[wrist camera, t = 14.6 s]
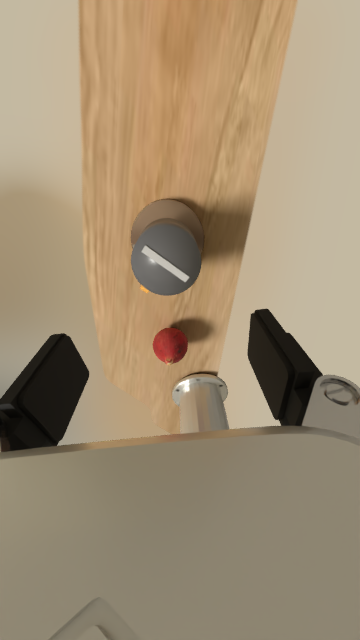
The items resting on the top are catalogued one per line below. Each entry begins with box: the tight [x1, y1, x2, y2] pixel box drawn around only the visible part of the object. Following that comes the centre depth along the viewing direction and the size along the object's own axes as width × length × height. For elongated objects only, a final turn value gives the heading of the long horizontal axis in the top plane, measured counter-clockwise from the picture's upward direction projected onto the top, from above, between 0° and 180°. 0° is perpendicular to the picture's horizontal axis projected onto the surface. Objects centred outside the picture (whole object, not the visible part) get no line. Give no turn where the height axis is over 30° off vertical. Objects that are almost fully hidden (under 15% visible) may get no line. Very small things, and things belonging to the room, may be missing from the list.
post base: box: [131, 199, 204, 255], centre depth 26 cm, size 10×10×5 cm
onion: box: [153, 328, 188, 365], centre depth 34 cm, size 6×6×8 cm
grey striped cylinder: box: [131, 218, 201, 295], centre depth 22 cm, size 7×8×5 cm
